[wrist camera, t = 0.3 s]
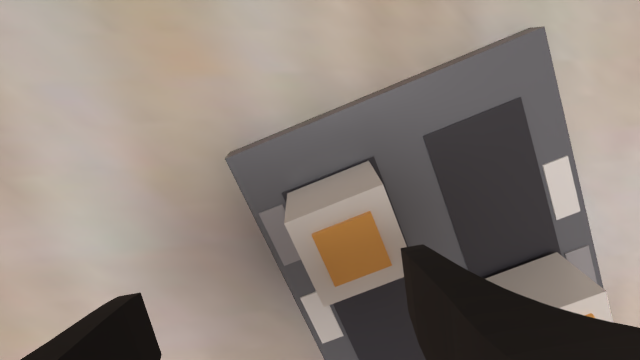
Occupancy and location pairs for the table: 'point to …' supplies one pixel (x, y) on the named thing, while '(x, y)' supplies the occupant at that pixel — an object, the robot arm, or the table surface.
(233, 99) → the table surface
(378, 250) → the white orange block
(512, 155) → the switch plate
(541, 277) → the white orange cube
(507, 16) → the table surface
